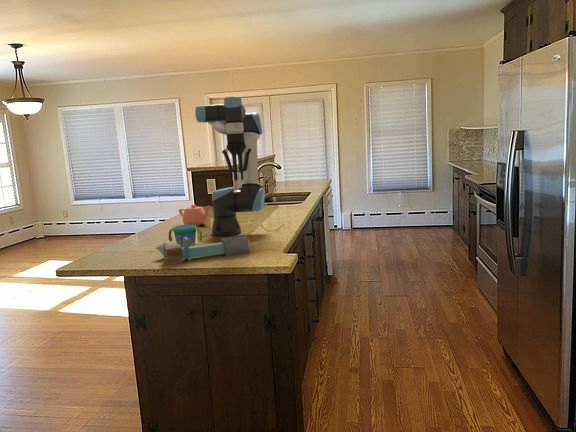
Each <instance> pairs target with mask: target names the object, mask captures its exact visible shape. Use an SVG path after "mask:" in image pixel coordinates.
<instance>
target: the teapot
mask: <svg viewBox="0 0 576 432" xmlns="http://www.w3.org/2000/svg"><path fill="white" fill-rule="evenodd" d="M211 206H212V205H206V207H205V209H204V208H203V206H197V205H196V204H191V205H190V206H188V207H186V208H179V209H178V213H179V214H180V216H181V217H182V222H183V223H182V224H183V225H196V227H198V228H199V227H201V226H202V225H204V224H205V223H206V221H207V218H208V216H209V209H210V207H211Z"/></svg>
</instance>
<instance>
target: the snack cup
mask: <svg viewBox="0 0 576 432" xmlns="http://www.w3.org/2000/svg"><path fill="white" fill-rule="evenodd" d="M172 232H173V233H174V238H175V242H176V244H180V245H181V247H185V244H184V237H187V238H188V240H189V246H196V232H198V234H199V241H200V242H202V241H203V233H202V230H201V229H200V228H199V226H198V227H196V225H185V224H180V225H175V226H173V227H172V228H171V229H170V230H169V232H168V241H169V242H172V241H173V237H172Z"/></svg>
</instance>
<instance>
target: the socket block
mask: <svg viewBox="0 0 576 432" xmlns="http://www.w3.org/2000/svg"><path fill="white" fill-rule="evenodd" d="M164 247H165V256H166V257H165V262H166V263H167V265H174V264H175V265H176V264H182V263H184V259H183V256H182V247H181V245H180V244H177V243H174V244H171V245H165V246H164Z"/></svg>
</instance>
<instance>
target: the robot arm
mask: <svg viewBox="0 0 576 432" xmlns="http://www.w3.org/2000/svg"><path fill="white" fill-rule="evenodd" d="M194 110H195V111H194V112H195V114H194V115H195V118H196V122H198V123H208V124H209V125H210V126H212V128H213V129H214V131H216V132H217V133H219V134H222V135H225V136H226V146H225V147H226V148H224V149H223V150H221V153H222V154H223V156H224V159H225V162H226V165H227V168H228V171H229V172H230V173H233V179H234V181H236V188H237V189H235V187H234V186H230V187H225V188H219V189H216V190H213V191H212V193H211V203H212V212H213V213H212V214H213V222H212V225H211V229H210V230H211V235H213V236H217V237H218V236H219V237H220V236H221V237H223V236H234V235H237V234H240V233H241V232H242V228H241V225H240V223H239V220H238V217H237V213H250V212H252V213H254V212H261V211H262V210H263V209H264V204H265V189H264V188H263V187H262V184H261V183H259V165H258V164H259V162H258V161H259V160H258V159H259V158H258V140H259V139H260V138H261V135H263V126H262V120H261V117H260V114H259V113H258V112H246V108H245V106H244V105H243V102H242V97H241V96H239V95H232V96H231V95H230V96H225V97H224V98H223V103H221V104H219V103H218V104H207V105H206V104H202V105H197V106H195V109H194ZM229 154H231V158H232V162H231V159H230V156H229ZM237 162H238V163H237Z"/></svg>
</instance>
